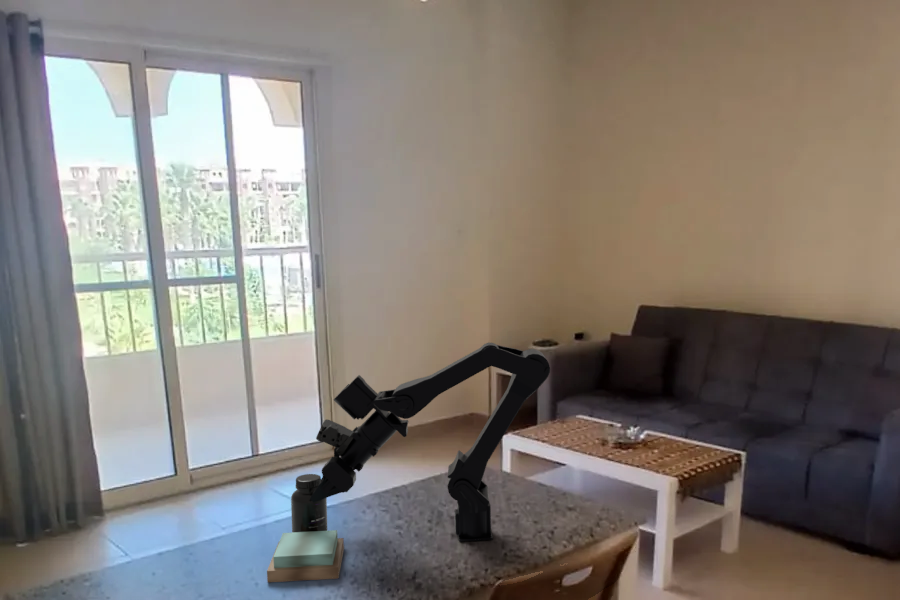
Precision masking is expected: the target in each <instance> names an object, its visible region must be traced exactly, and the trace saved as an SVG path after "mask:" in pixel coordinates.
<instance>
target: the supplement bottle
mask: <svg viewBox="0 0 900 600" xmlns="http://www.w3.org/2000/svg"><path fill="white" fill-rule="evenodd" d="M321 479H322V477H321V475H319V474H317V473H315V474H314V473H306V474H301V475H299V476H297V477H296V478H295V489H296V490H295V491H293V493H292V494H291V497H290V503H291V504H290V505H291V506H290V509H291V510H290V511H291V512H290V513H291V533H293V532H312V531H328V504H327V503H328V501H327V500H328V499H327V498H328V497H327V498H324V499H322V500H319V501H317V502H312V501H311V500H310V497H311V496H312V494H313V493H314V491H315V490H316V488H317V487H318V485H319V484H320V482H321Z"/></svg>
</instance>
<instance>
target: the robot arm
mask: <svg viewBox="0 0 900 600" xmlns="http://www.w3.org/2000/svg"><path fill="white" fill-rule="evenodd" d="M490 367H493V368H496V369H499V370H503V371H504V372H508V373H511V376H510V379H509V382H508V385H507V388H506V390H505V392H504V394H503V395H502V396H501V398H500V399H499V402H498V403H497V405H496V407H495V408H494V410H493V411H492V413H491V415H490V416H489V418H488V419H487V421H486V423H485V425H484V427H483V428H482V430H481V431H480V433H479V435H478V436H477V438H476V440H475V441H474V443H473V445H471V447H470V448H469V449H468V450H467V451H466V452H465V453H464V452H463V451H462V450H458V451H457V453H456V455H455V458H454V460H453V462H452V463H450V464H449V465H448V471H447V478H448V480H447V491H448V494H449V496H450V497H451V498H452V499H453V500H455V501H456V508H455V509H454V513H453V515H454V533H455V535H456V536H457V538H458V541H459V542H474V541H475V542H476V541H489V540H490V541H492V540H494V539H493V538H494V536H493V533H492V510H491V509H492V508H491V506H492V505H491V503H490V496H489V486H488V484H486V483H485V482H484V481H483V477H484V474H485V471H486V469H487V466H488V465H487V464H488V462H489V461H490V459H491V457H492V456H493V453H494V452H495V450H496V449H497V448H498V446H499V444H500V442H501V440H502V439H503V437H504V436H505V434H506V432H507V431H508V429H509V428H510V426H511V424H512V422H513V421H514V419H515V418H516V416H517V414H518V413H519V410H521V408H522V407H523V405H524V403H525V402H526V401H527V400H528V399H529V398H530V397H531V396H532V395H533V394H534V393H535V392H536V391H538V389H539V388H540V387H541V386H542V384H544V382H545V381H546V380H547V379H548V378H549V375H550V373H551V367H550V362H549V361H548V359H547V357H546V356H545V355H544V353H543V352H542V351H540V350H538V349H535V348H533V349H532V348H530V349H529V348H528V349H525V350H522V349H517V348H514V347H509V346H504V345H500V344H496V343H495V342H486V343H484V344H483V345H481V346H480V347H479V348H477V349H475V350H474V351H472V352H470V353H468V354H467V355H465V356H463V357H461V358H459V359H457V360H456V361H454V362H453V363H452V362H451V363H450V364H448V365H447V366H445V367H443V368H441V369H439V370H437V371H435V372H434V373H432V374H429V375H427V376H423V377H418V378H415V379H412V380H410V381H406V382H404V383H401V384H399V385H398V386H397V387H395V388H394V389H387V390H381V391H379V392H376V390H375V389H373V388H372V386H370V385H369V383H367V381H366V380H365V379H364V378H363V377H362V376H361V375H360V374H358V375H357V376H355V378H354V379H353V380H352V381H351V382H349V383H347V385H345V387H344V388H343V389H342V390H341V391H340V392H339V393H338V394H337V395H336V396H335V398H333V401H334V403H336V404H337V405H338V406H339V407H340V408H341V409H342V410H343V411H344V412H346V414H347V415H349V417H350V418H352V419H353V420H357V421H358V420H364V419H365V418H366V417H367V416H368V415H369V414H370V413H371V412H372V410H373V409H374V412H373V413H371V415H370V416H368V418H367V419H366V420H365V421H364V422H363V423H362V424H361V425H360V426H355V427H354V428H353V430H352V429H349V428H347V426H344V425H341V424H340V423H337V422H335V421H333V420H331V419H325V420H324V421H323V422H322V424H321V426H320V427H319V430H318V432H317V434H316V437H315V439H316V440H317V441H319V442H320V443H325V444H328V445H330V446H332V447H333V448H334V449H333V456H331V457H330V458H329V460H327V462H326V463H325V464H324V465H323V466H322V469H321V475H322V477H321V482H320V484H319V485H318V487H317V488H316V490H315V491H314V493H313V494H312V496H311V497H310V500H311V501H312V502H317V501H319V500H322V499H324V498H330V497H333V496H335V495H338V494H341V493H348V492H349V491H350V490H351V489H352V487H354V486H355V482H356V480H357V472H358V473H360V471H362V469H363V467H364V465H365V464H367V462H368V461H369V460H370V459H371V458H372V457H375V456H376V455H377V454H378V452H379V451H380V449H381V448H382V447H383V446H384V445H385V444H386V443H387V441H389V440H390V439H391V438H392V437H393V436H394V434H396V433H397V432H398V433H399V434H400V435H401V436H402V437H404V438H406V437H407V436H408V434H409V433H408V432H409V430H408V429H409V428H408V425H409V420H408V419H410V418H413V417H414V416H416V415H417V414H418V413H419V412H421V411H422V410H423V409H424V408H425V407H428V405H429V404H430V403H431V402H432V401H433V400H435V399H436V398H437V397H439V396H440V395H441V394H443V393H444V392H447V391H448V390H450V389H452V388H454V387H455V386H457V385H458V384H459V385H460V384H461V383H462V382H464V381H466V380H469V379H470V378H471V377H474V376H476V375H477V374H479V373H481V372H482V371H484V370H486V369H488V368H490ZM355 470H356V471H357V472H356V471H355Z"/></svg>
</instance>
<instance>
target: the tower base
mask: <svg viewBox="0 0 900 600" xmlns="http://www.w3.org/2000/svg"><path fill="white" fill-rule="evenodd" d="M344 541H345V540H344V537H338V529H336V530H334V529H333V530H327V531H312V532H293V533H292V532H282V534H281V537H280V539H279V541H278V542H277V545H276V548H275V550H274V552H273V554H272V558H271V559H270V562H269V565H268V567H267V570H266V578H267V579H266V581H267V582H266V583H280V582H281V583H282V582H283V583H284V582H295V581H296V582H299V581H314V580H315V581H317V580H333V579H334V580H335V579H336V580H337V579H339V578H340V572H341V567H342V561H343V555H344V550H345V543H344Z"/></svg>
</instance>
